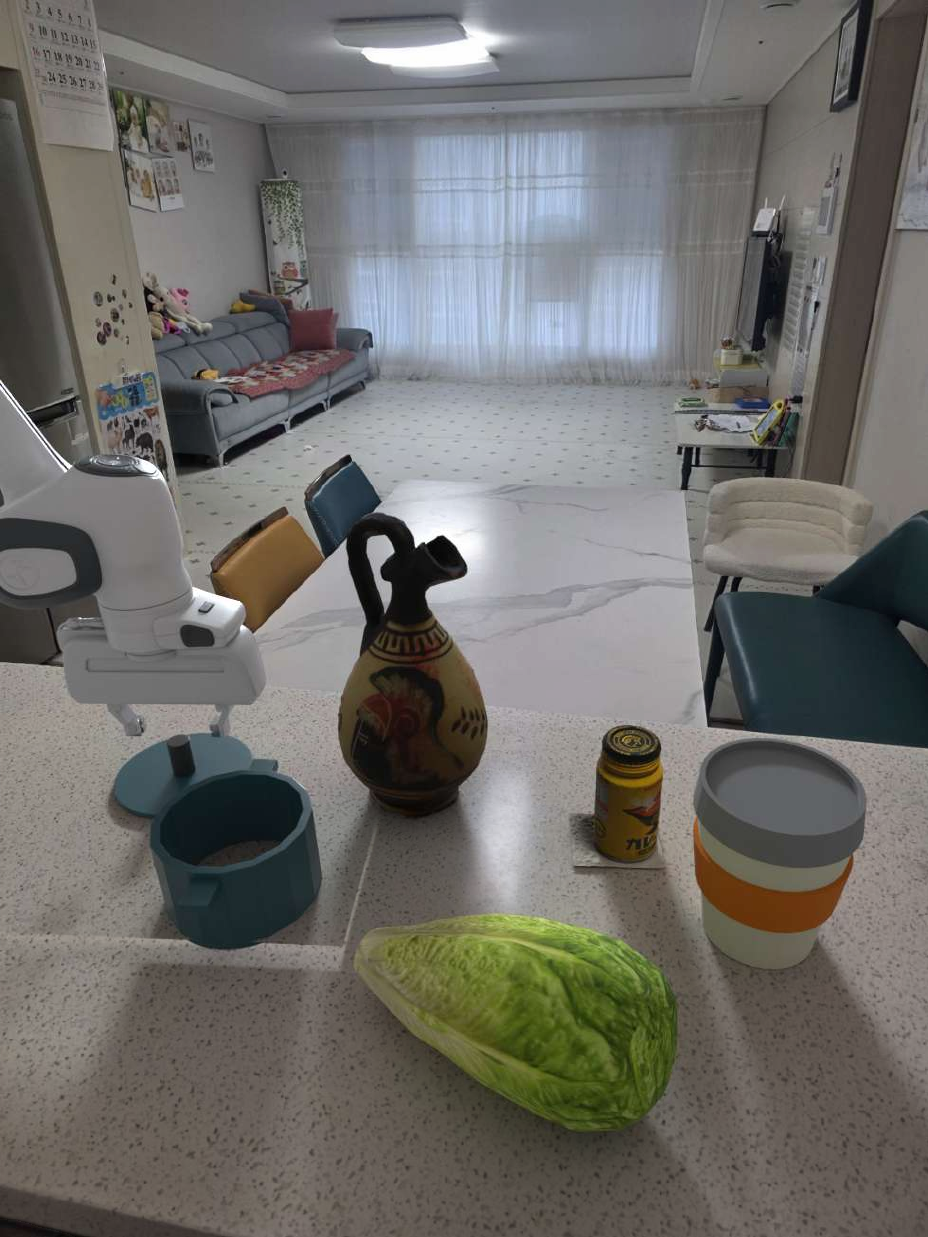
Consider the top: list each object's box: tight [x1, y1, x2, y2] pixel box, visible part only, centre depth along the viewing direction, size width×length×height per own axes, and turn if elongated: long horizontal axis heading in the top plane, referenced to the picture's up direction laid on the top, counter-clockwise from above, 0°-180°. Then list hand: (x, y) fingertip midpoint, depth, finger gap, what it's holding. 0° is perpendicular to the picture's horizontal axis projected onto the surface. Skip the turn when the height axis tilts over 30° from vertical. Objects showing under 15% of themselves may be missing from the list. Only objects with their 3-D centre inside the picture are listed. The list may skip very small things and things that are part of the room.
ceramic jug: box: [337, 511, 489, 819], centre depth 82 cm, size 17×15×30 cm
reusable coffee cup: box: [692, 737, 868, 970], centre depth 66 cm, size 13×13×15 cm
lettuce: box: [353, 913, 679, 1133], centre depth 59 cm, size 12×24×13 cm
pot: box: [149, 758, 323, 950], centre depth 73 cm, size 14×19×8 cm
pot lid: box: [113, 732, 255, 820], centre depth 90 cm, size 15×15×5 cm
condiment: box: [569, 724, 666, 869], centre depth 77 cm, size 7×8×12 cm
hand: (179, 734), depth 88 cm, fingers open, 8 cm apart
